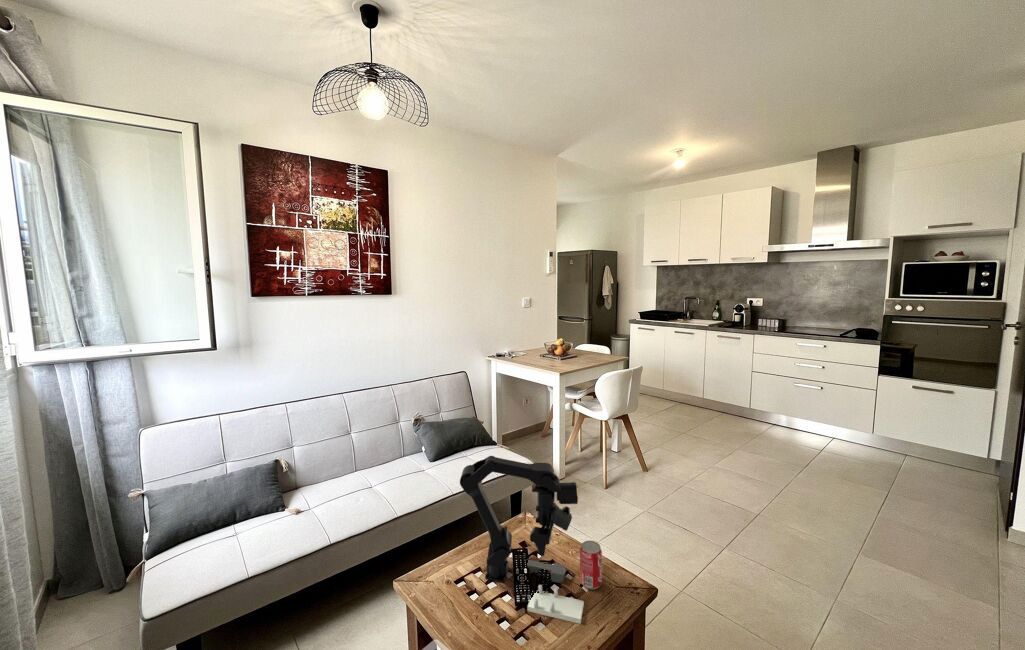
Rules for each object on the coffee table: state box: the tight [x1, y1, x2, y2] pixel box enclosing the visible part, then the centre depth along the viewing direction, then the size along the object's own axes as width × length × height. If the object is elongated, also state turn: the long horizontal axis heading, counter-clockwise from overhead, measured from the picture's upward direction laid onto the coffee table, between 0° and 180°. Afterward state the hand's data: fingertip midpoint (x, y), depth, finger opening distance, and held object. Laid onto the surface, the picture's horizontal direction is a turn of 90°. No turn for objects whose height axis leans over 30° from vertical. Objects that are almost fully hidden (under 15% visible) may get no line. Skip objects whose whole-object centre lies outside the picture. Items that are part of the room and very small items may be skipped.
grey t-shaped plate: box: [527, 559, 566, 585], centre depth 139 cm, size 14×5×3 cm, turn 73°
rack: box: [526, 584, 585, 625], centre depth 124 cm, size 16×7×4 cm, turn 73°
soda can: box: [579, 540, 603, 591], centre depth 134 cm, size 7×7×13 cm
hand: (545, 546), depth 138 cm, fingers open, 9 cm apart
